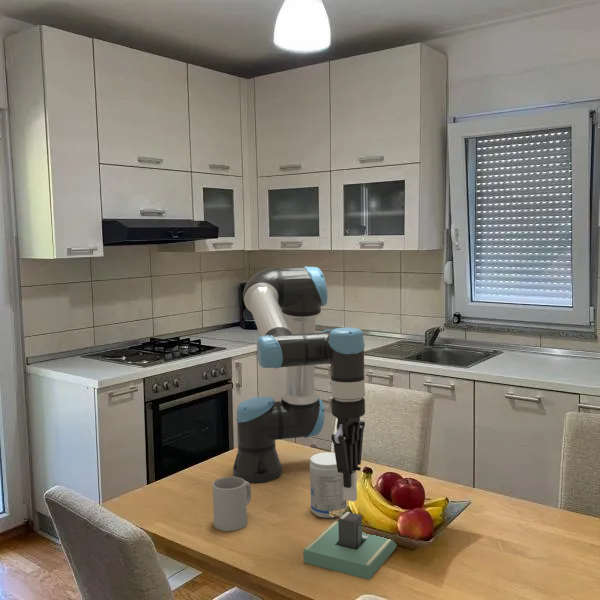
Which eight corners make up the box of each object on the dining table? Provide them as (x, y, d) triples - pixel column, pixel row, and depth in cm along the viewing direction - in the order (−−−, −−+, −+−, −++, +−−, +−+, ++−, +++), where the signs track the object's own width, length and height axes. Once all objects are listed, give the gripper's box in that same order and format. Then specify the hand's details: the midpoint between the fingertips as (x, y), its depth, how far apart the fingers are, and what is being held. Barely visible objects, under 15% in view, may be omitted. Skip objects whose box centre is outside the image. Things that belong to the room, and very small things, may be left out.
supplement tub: (308, 505, 172) (306, 453, 170) (342, 502, 174) (340, 450, 172) (314, 521, 162) (313, 465, 161) (350, 517, 164) (349, 462, 163)
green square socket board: (335, 532, 156) (335, 520, 156) (396, 546, 148) (396, 534, 148) (303, 562, 142) (303, 549, 142) (369, 579, 134) (368, 566, 134)
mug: (231, 534, 156) (229, 492, 155) (206, 526, 161) (205, 484, 160) (262, 516, 166) (261, 476, 165) (238, 509, 171) (237, 469, 170)
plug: (346, 548, 148) (345, 510, 147) (363, 552, 146) (362, 514, 145) (339, 556, 144) (338, 517, 143) (356, 560, 142) (355, 521, 141)
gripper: (345, 389, 149) (347, 486, 151) (319, 402, 138) (322, 507, 140) (375, 392, 145) (376, 491, 147) (350, 406, 134) (352, 513, 136)
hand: (350, 499), depth 144 cm, fingers closed
